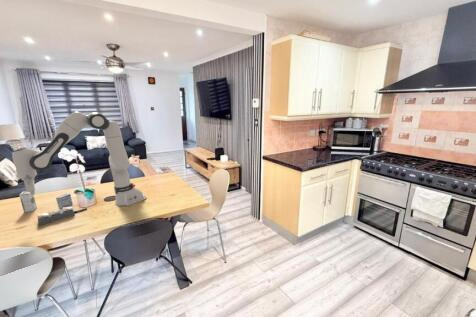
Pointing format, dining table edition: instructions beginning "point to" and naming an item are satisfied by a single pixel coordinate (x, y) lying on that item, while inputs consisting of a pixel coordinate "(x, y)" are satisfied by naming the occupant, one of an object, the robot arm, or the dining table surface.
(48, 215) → the rocker
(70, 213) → the power strip
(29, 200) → the syrup box
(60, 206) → the medicine box
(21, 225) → the dining table surface
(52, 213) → the rocker
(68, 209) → the rocker
